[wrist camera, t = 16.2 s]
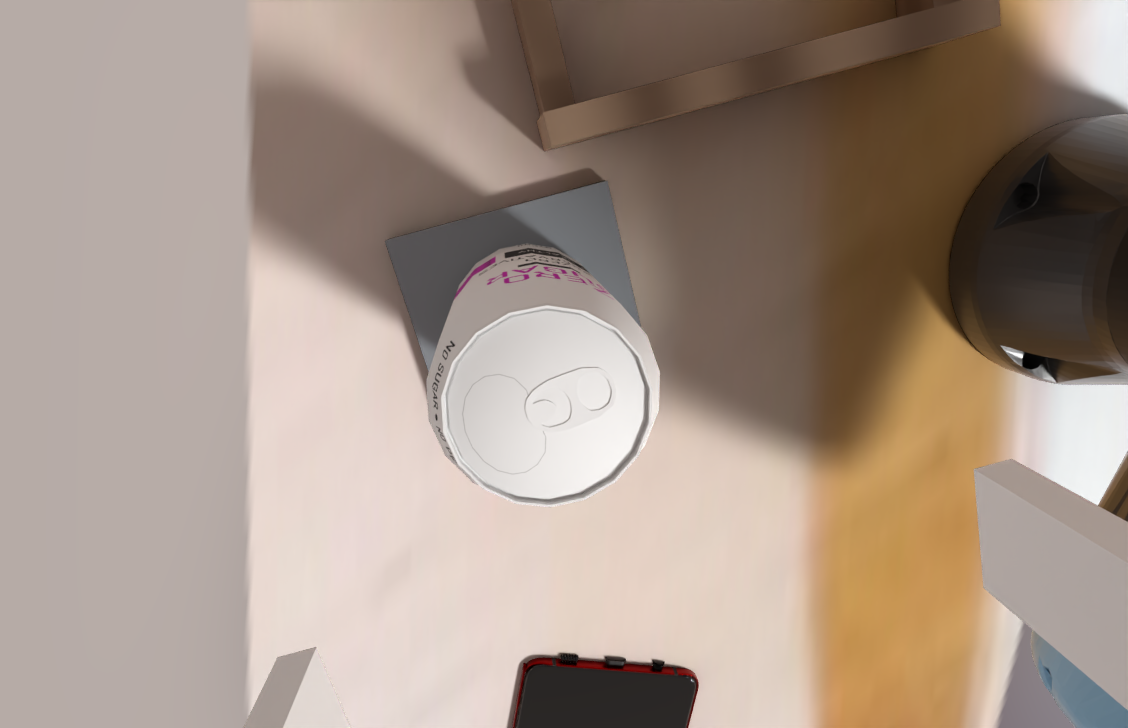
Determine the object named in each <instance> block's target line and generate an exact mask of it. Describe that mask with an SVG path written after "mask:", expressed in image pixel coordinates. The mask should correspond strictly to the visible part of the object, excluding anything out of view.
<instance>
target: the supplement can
mask: <svg viewBox="0 0 1128 728" xmlns="http://www.w3.org/2000/svg"><path fill="white" fill-rule="evenodd" d="M426 386H427V400H428V415H429V422H430V424H431V426H432V428H433V430H434V432H435V434H436V437H437V439H438V441H439V443H440V445H441V447H442V449H443V452H444V454H445V456H446V457H447V458H448V459H449V460H450V461H451V462H452V463H453V464H455V465H456V466H457V467H458V468H459V469H460V470H461V471H462V472H463V473H464V474H465V475H466V476H467V477H468V478H469V479H470V480H471V481H472V482H473V483H475V484H477V485H479V486H480V487H481V488H482V489H484V490H486V491H488V492H491V493H493V494H495V495H497V496H499V497H502V498H504V499H506V500H508V501H510V502H512V503H515V504H523V505H532V506H542V507H554V506H559V505H563V504H568V503H573V502H577V501H582V500H586V499H587V498H589V497H591V496H592V495H594V494H596V493H598V492H599V491H601V490H603V489H604V488H606V487H608V486H610V485H611V484H613V483H615V482H616V481H617V480H618V479H619V478H620V476H621V475H622V474H623V473H624V472H625V471H626V470H627V468H628V467H629V466H630V465H631V464H632V463H633V462H634V460H635V459H636V458H637V457H638V456H639V454H640V451H641V450H642V448H643V447H644V446H645V444H646V441H647V439H648V436H649V434H650V431H651V429H652V426H653V424H654V421H655V419H656V416H657V414H658V411H659V389H660V371H659V368H658V365H657V362H656V359H655V356H654V353H653V350H652V348H651V345H650V342H649V339H648V336H647V334H646V333H645V332H644V331H643V330H642V329H641V327H640V326H639V325H638V324H637V323H636V321H635V320H634V319H633V318H632V317H631V316H630V314H629V313H628V312H627V311H626V310H625V308H624V307H623V306H622V305H621V304H620V303H619V302H618V301H617V300H616V299H615V298H614V297H613V296H612V295H611V294H610V293H609V292H608V291H607V290H606V289H605V288H604V287H603V286H602V285H601V284H600V283H599V282H598V281H597V280H596V279H595V278H594V277H593V276H592V275H591V274H590V273H589V272H588V271H587V270H586V269H585V268H584V267H583V266H582V265H581V264H580V263H579V262H578V261H577V260H575V259H573V258H571V257H569V256H568V255H566V254H564V253H562V252H561V251H559V250H557V249H555V248H552V247H546V246H540V245H533V244H521V245H516V246H511V247H506V248H501V249H498V250H497V251H495V252H494V253H492V254H490V255H489V256H487V257H485V258H484V259H482V260H481V261H479V262H477V263H476V264H475V265H474V267H473V268H472V269H471V270H470V272H469V273H468V274H467V275H466V277H465V278H464V279H463V281H462V282H461V283H460V284H459V287H458V290H457V292H456V295H455V298H454V301H453V303H452V306H451V309H450V311H449V314H448V317H447V320H446V322H445V325H444V328H443V331H442V333H441V336H440V339H439V342H438V345H437V348H436V351H435V354H434V357H433V361H432V364H431V367H430V370H429V373H428V377H427V380H426Z"/></svg>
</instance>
